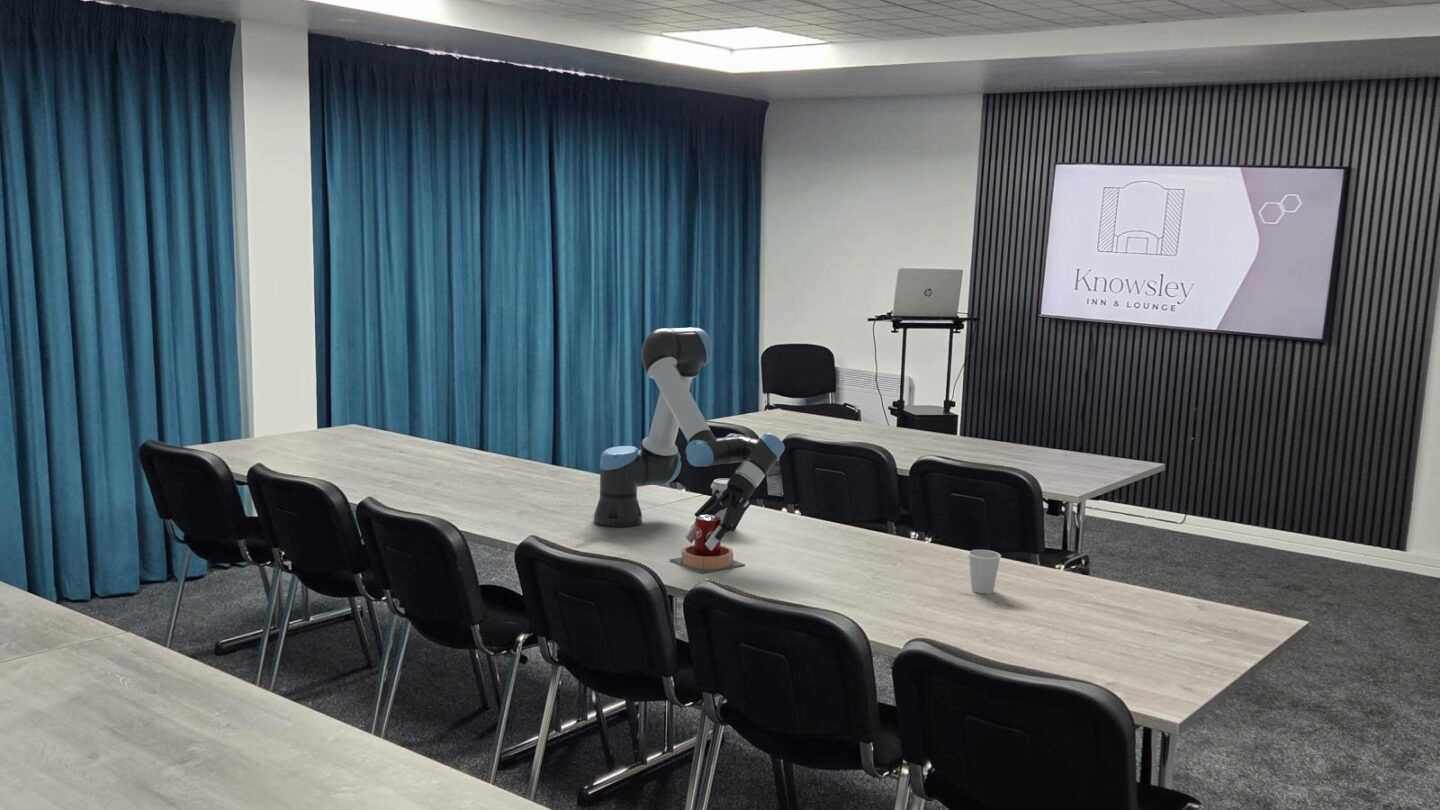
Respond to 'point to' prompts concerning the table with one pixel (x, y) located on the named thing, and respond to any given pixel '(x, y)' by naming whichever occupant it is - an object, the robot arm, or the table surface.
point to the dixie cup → (983, 570)
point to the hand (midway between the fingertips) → (698, 543)
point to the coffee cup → (721, 486)
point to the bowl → (707, 560)
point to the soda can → (706, 535)
